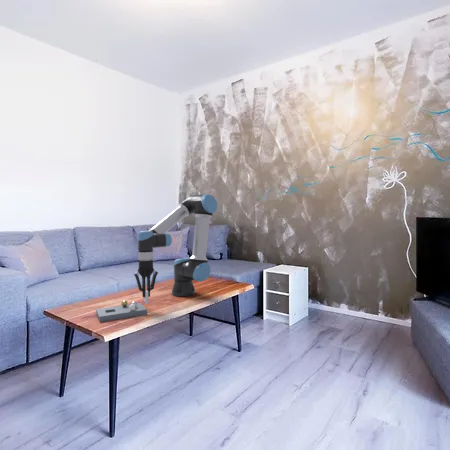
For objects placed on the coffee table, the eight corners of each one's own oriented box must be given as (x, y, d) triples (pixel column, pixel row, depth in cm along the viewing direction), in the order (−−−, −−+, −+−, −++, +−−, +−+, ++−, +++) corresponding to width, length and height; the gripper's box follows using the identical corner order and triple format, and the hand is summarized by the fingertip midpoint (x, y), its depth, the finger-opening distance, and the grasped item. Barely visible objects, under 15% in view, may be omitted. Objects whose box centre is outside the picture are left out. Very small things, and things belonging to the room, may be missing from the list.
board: (140, 307, 177) (140, 302, 177) (147, 314, 165) (146, 309, 165) (96, 313, 166) (96, 309, 166) (99, 321, 154) (99, 316, 154)
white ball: (134, 309, 165) (134, 303, 165) (136, 310, 162) (136, 304, 162) (128, 310, 164) (128, 304, 164) (129, 311, 161) (129, 305, 161)
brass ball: (127, 305, 173) (126, 299, 173) (128, 306, 170) (128, 300, 170) (120, 306, 171) (120, 300, 171) (122, 307, 168) (121, 301, 168)
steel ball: (136, 306, 171) (136, 300, 170) (137, 307, 168) (137, 301, 168) (130, 307, 169) (130, 301, 169) (131, 308, 166) (131, 302, 166)
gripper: (155, 257, 177) (156, 299, 178) (131, 259, 171) (132, 303, 172) (159, 259, 170) (160, 303, 171) (135, 261, 164) (135, 306, 165)
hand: (146, 303), depth 171 cm, fingers closed
